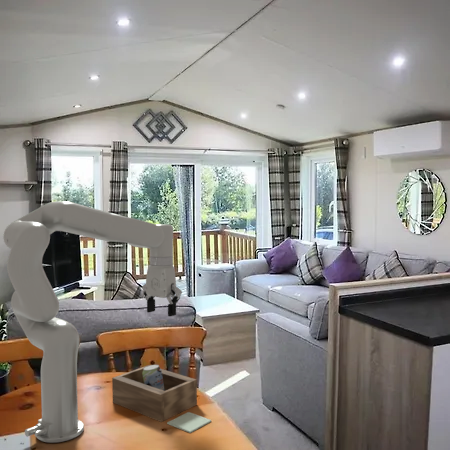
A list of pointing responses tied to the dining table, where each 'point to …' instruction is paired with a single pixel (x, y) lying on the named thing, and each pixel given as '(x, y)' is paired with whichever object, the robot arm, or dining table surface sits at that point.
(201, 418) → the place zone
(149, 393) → the box
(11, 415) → the dining table surface
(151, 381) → the beverage can
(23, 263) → the robot arm
